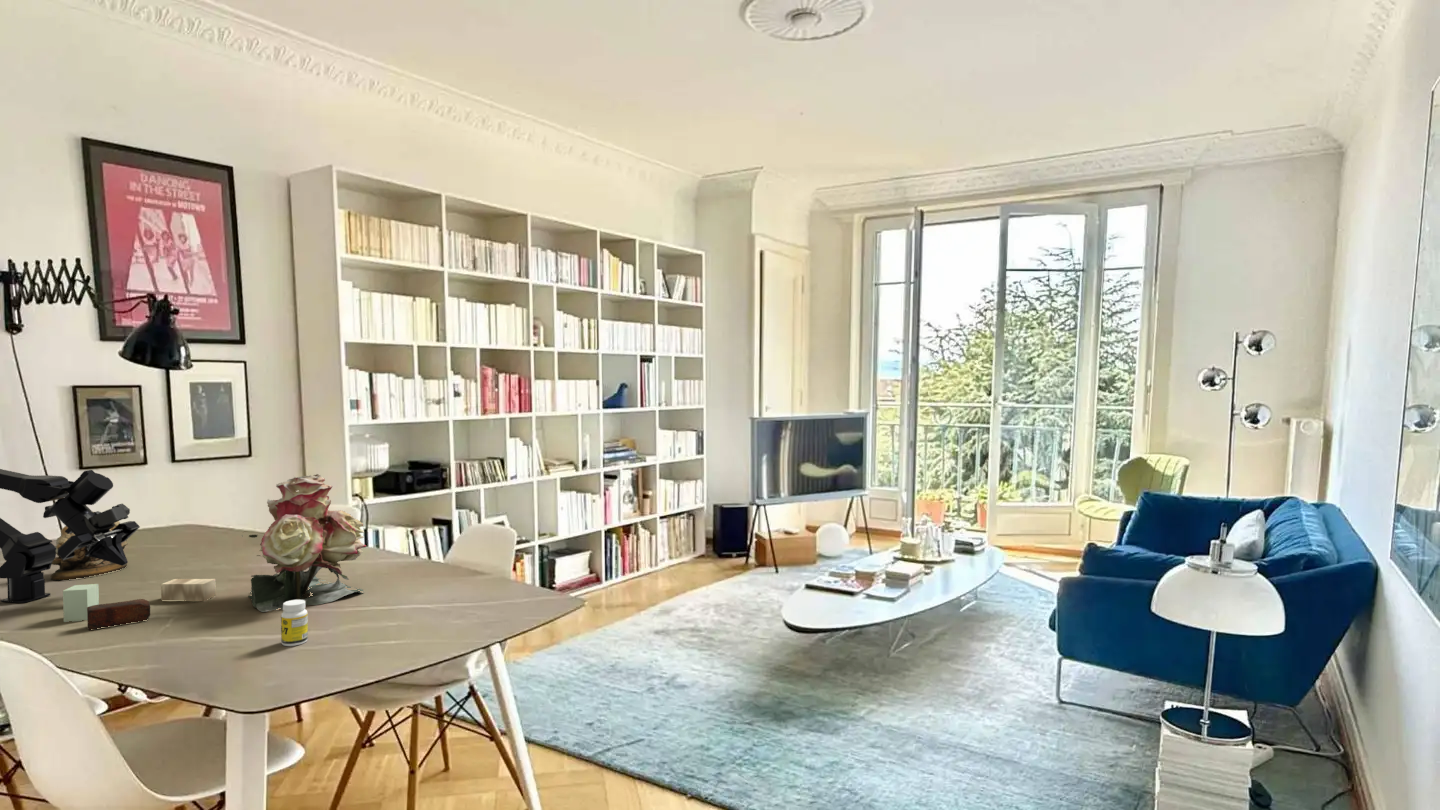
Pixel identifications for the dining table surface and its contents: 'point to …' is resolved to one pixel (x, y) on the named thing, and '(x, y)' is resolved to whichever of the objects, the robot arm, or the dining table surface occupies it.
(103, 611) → the brick
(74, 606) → the sage block
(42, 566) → the robot arm
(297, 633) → the supplement bottle
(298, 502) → the rose bouquet
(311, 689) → the dining table surface
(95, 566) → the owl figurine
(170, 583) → the maple block
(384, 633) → the dining table surface
